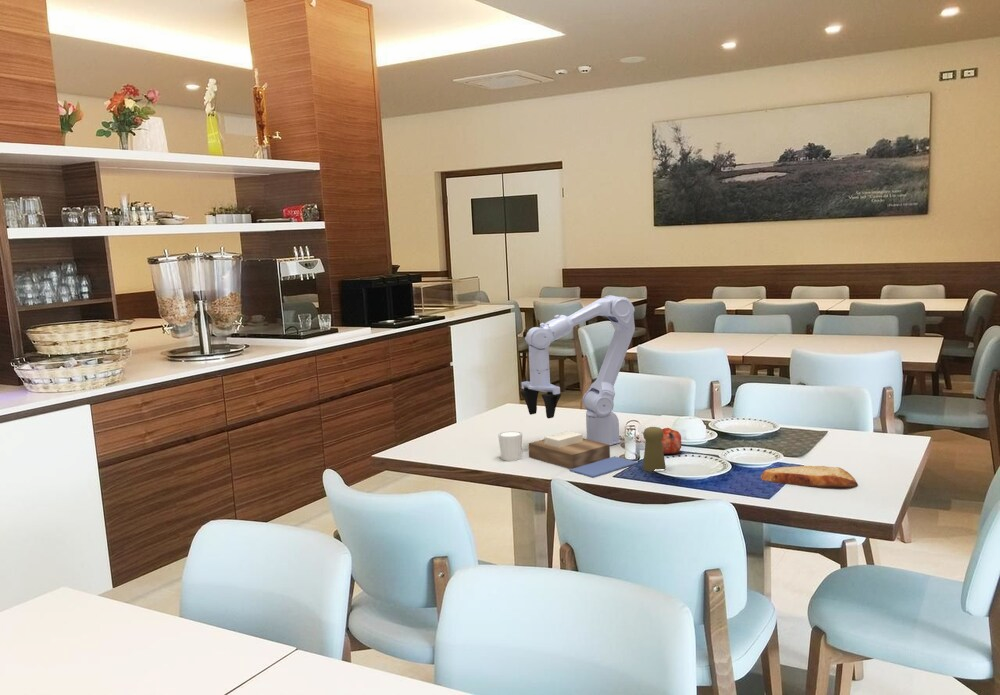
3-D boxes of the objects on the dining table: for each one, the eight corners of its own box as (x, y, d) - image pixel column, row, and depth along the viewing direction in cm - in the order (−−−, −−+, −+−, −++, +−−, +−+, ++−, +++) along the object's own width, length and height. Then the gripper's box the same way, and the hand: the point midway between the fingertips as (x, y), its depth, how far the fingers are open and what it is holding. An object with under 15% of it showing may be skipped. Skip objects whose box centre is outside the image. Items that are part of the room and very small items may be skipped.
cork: (648, 473, 209) (647, 431, 207) (638, 466, 215) (637, 426, 213) (670, 470, 211) (669, 428, 209) (659, 464, 216) (658, 423, 215)
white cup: (526, 455, 231) (525, 431, 230) (520, 461, 225) (519, 437, 224) (503, 454, 233) (501, 430, 232) (496, 461, 227) (495, 436, 226)
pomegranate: (652, 458, 229) (655, 445, 221) (653, 435, 233) (656, 420, 224) (679, 461, 228) (683, 448, 220) (680, 437, 232) (684, 423, 223)
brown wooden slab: (565, 447, 238) (564, 433, 237) (610, 458, 224) (609, 444, 223) (529, 457, 229) (528, 443, 229) (573, 469, 215) (572, 454, 215)
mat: (614, 457, 224) (614, 456, 224) (638, 463, 218) (638, 462, 218) (569, 470, 214) (569, 469, 214) (593, 477, 207) (593, 476, 207)
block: (568, 437, 233) (567, 431, 232) (582, 441, 228) (582, 434, 228) (544, 443, 227) (544, 437, 227) (559, 447, 222) (558, 440, 222)
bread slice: (754, 478, 202) (754, 463, 201) (812, 467, 208) (812, 453, 207) (804, 498, 185) (804, 483, 185) (866, 486, 191) (866, 471, 191)
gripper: (512, 368, 235) (514, 414, 237) (546, 374, 224) (548, 422, 225) (531, 365, 239) (533, 410, 241) (564, 370, 228) (566, 417, 230)
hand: (541, 415), depth 234 cm, fingers open, 7 cm apart
